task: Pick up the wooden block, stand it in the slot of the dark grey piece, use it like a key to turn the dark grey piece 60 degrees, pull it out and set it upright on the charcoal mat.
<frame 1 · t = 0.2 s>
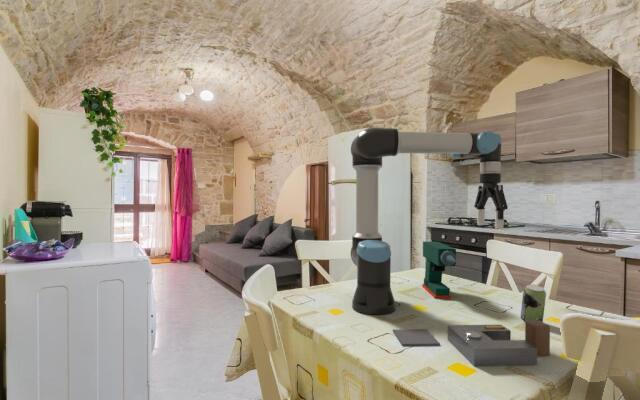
hand: (489, 226, 140), 28 cm above the table, fingers open, 13 cm apart
power tool: (441, 297, 140), on the table
mat: (415, 339, 98), on the table
dark grey piece: (488, 342, 89), point 3 cm above the table, hinge at 0.0°
wooden block: (537, 355, 89), on the table
beverage can: (532, 324, 110), on the table
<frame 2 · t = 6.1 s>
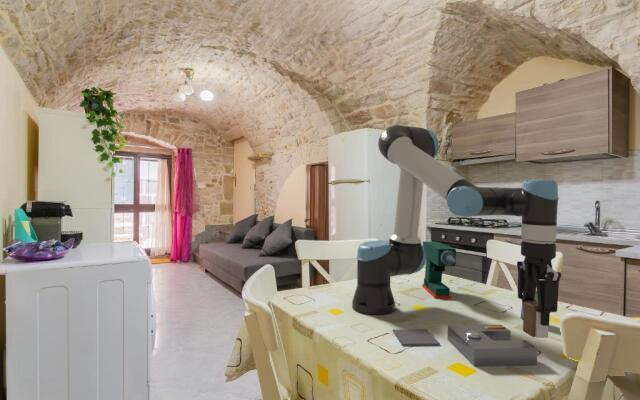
hand: (535, 332, 89), 5 cm above the table, fingers closed on wooden block, 4 cm apart
wooden block: (534, 335, 89), point 5 cm above the table, touching gripper
everything else where it was.
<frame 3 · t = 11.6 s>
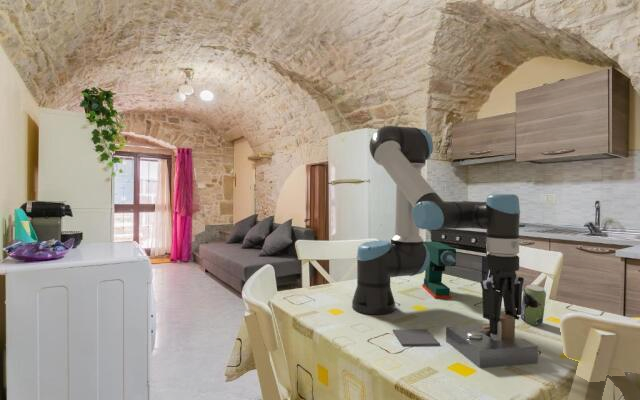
hand: (502, 344, 91), 2 cm above the table, fingers closed on wooden block, 4 cm apart
dark grey piece: (488, 342, 89), point 3 cm above the table, hinge at 6.5°, touching gripper, wooden block
wooden block: (503, 347, 91), point 1 cm above the table, touching gripper, dark grey piece
everything else where it was.
when the fingers open (2 cm above the table, at t = 19.1 s): wooden block stays where it is, resting on mat.
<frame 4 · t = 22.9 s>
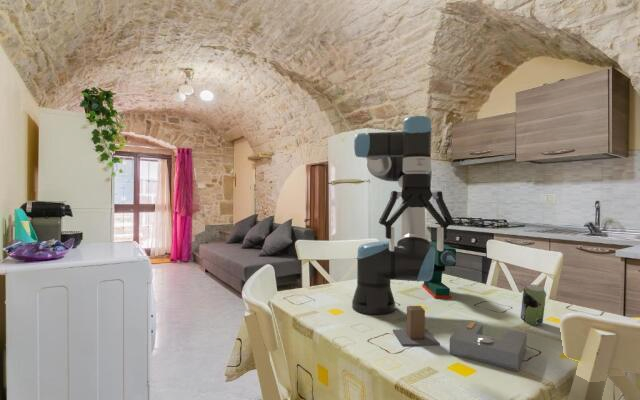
hand: (415, 250, 97), 25 cm above the table, fingers open, 13 cm apart
dark grey piece: (488, 342, 89), point 3 cm above the table, hinge at 50.7°
wooden block: (415, 337, 97), point 1 cm above the table, touching mat
everything else where it was.
at the end: dark grey piece at +51° (first picture: +0°); wooden block inside the target area on the mat (0.3 cm from its centre), point 0.8 cm above the mat's base; wooden block tilted 0° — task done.
